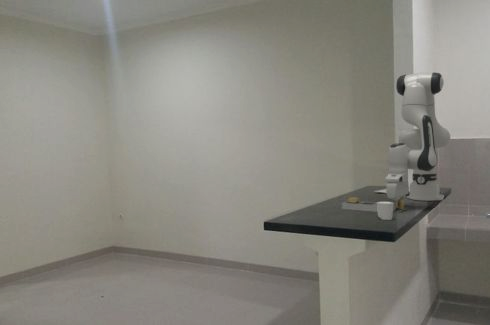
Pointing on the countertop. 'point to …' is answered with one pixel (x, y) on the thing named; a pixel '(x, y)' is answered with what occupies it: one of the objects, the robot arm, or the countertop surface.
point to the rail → (363, 206)
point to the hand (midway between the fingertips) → (398, 205)
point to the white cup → (385, 210)
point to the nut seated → (353, 200)
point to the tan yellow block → (400, 204)
